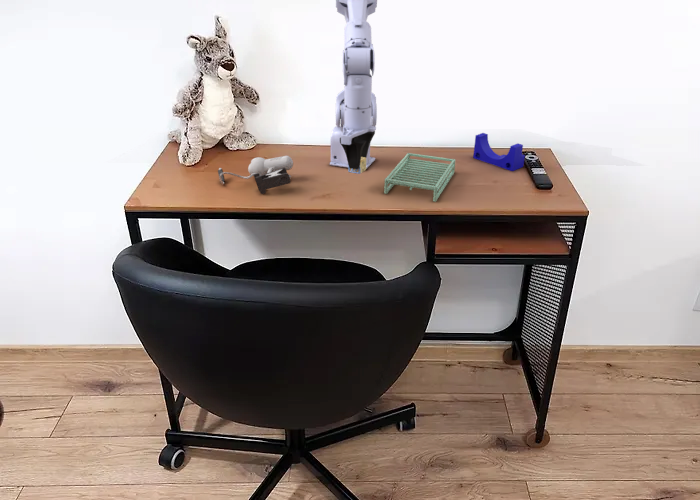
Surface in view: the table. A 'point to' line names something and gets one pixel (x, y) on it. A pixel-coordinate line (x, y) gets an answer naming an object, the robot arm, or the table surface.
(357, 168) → the robot arm
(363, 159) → the alphabet block
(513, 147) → the blue cradle bracket
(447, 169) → the rack
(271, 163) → the clip-on lamp
